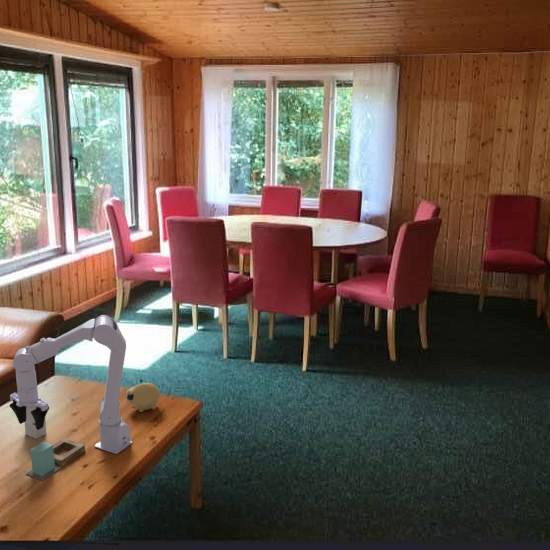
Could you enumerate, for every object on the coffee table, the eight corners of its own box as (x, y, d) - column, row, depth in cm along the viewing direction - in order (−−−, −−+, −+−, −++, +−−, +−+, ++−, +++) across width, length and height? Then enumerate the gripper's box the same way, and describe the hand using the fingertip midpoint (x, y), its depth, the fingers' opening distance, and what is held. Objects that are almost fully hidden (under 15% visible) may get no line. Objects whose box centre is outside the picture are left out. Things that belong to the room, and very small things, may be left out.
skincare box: (24, 434, 201) (21, 402, 198) (35, 428, 205) (32, 397, 201) (37, 439, 198) (33, 407, 195) (47, 433, 202) (44, 401, 198)
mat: (60, 468, 182) (60, 467, 182) (42, 481, 176) (42, 480, 176) (44, 462, 185) (44, 461, 185) (26, 474, 179) (26, 473, 179)
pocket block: (85, 450, 192) (84, 445, 191) (61, 466, 183) (61, 460, 183) (64, 443, 196) (64, 437, 195) (40, 459, 187) (40, 452, 187)
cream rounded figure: (129, 402, 223) (128, 377, 221) (161, 402, 224) (160, 376, 221) (124, 416, 214) (123, 389, 211) (158, 415, 215) (157, 388, 212)
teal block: (55, 467, 182) (52, 444, 180) (42, 476, 178) (39, 453, 176) (45, 464, 184) (43, 441, 182) (32, 472, 180) (30, 449, 177)
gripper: (0, 386, 183) (4, 425, 187) (33, 396, 177) (37, 437, 180) (18, 377, 189) (22, 415, 193) (51, 387, 183) (55, 426, 186)
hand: (31, 425), depth 187 cm, fingers open, 7 cm apart
